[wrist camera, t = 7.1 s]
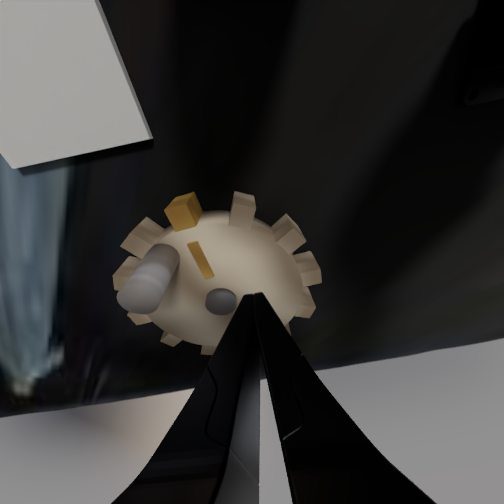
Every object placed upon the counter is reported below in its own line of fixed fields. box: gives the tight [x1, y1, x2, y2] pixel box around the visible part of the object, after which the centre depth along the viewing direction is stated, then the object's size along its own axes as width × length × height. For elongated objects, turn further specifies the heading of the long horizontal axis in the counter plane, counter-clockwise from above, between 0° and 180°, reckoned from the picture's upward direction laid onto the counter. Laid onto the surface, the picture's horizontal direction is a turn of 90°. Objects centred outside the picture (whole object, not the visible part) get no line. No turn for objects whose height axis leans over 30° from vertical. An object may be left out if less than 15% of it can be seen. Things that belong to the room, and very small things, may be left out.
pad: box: [0, 0, 153, 169], centre depth 10 cm, size 9×9×1 cm
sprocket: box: [113, 191, 322, 355], centre depth 15 cm, size 16×16×7 cm
